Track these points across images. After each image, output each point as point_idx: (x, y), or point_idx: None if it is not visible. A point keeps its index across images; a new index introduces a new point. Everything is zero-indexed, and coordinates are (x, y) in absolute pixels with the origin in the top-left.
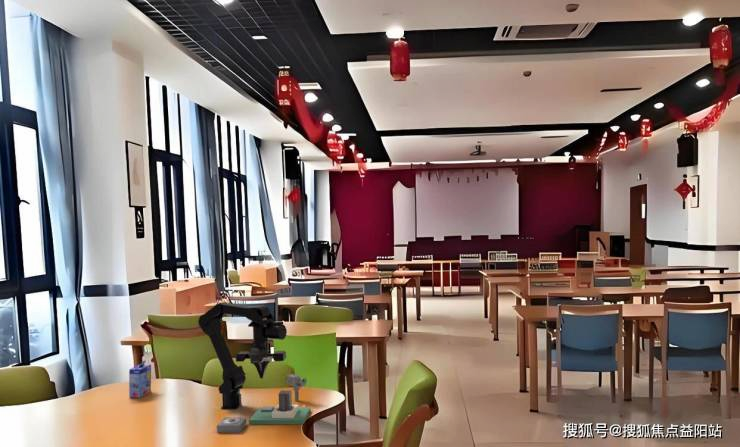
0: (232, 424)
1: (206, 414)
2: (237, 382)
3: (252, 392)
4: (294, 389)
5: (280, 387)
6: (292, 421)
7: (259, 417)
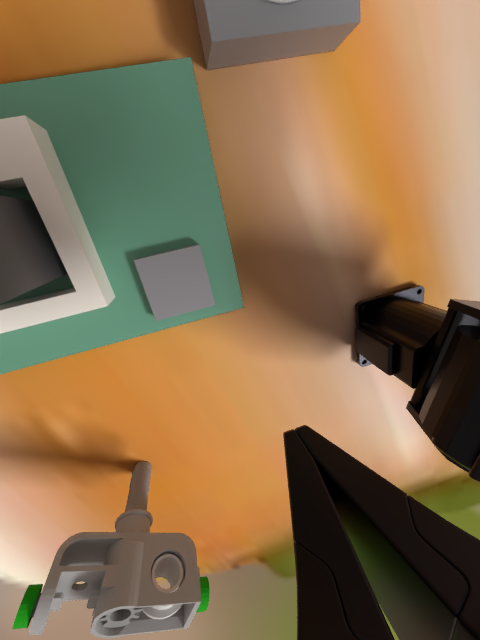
0: None
1: (460, 204)
2: (477, 361)
3: None
4: (137, 513)
5: (285, 540)
6: None
7: (147, 131)
